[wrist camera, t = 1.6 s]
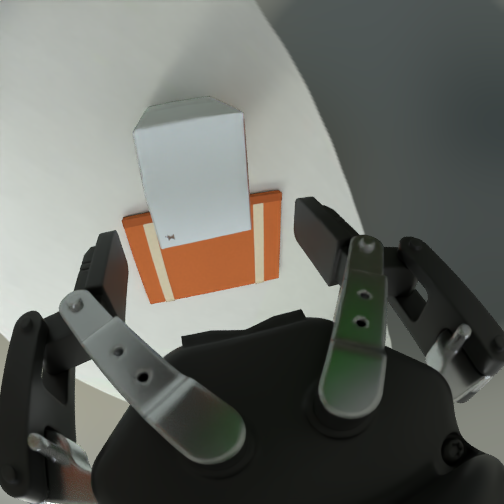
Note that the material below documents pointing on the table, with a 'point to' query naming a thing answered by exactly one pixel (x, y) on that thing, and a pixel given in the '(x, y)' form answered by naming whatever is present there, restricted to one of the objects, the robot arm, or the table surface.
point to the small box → (194, 170)
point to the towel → (208, 255)
